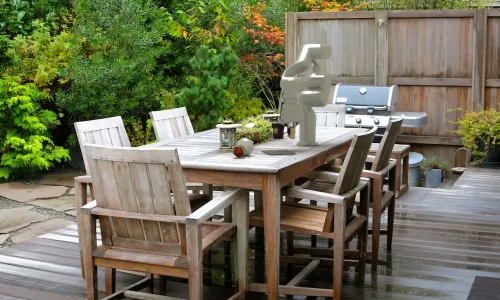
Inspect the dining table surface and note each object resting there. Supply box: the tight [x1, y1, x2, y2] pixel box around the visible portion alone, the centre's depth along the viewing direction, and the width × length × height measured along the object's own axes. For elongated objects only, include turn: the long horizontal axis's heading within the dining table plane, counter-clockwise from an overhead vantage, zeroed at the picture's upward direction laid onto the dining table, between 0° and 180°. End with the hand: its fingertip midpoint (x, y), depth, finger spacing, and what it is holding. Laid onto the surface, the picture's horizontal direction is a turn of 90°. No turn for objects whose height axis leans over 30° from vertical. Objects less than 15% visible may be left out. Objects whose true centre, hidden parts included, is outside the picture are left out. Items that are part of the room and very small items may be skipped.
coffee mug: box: [270, 121, 287, 140], centre depth 448 cm, size 12×9×10 cm
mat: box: [261, 149, 296, 156], centre depth 382 cm, size 16×14×1 cm
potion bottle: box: [232, 137, 255, 159], centre depth 370 cm, size 9×10×15 cm
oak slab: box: [286, 125, 296, 140], centre depth 392 cm, size 7×2×6 cm, turn 15°
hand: (291, 134), depth 392 cm, fingers closed on oak slab, 1 cm apart
